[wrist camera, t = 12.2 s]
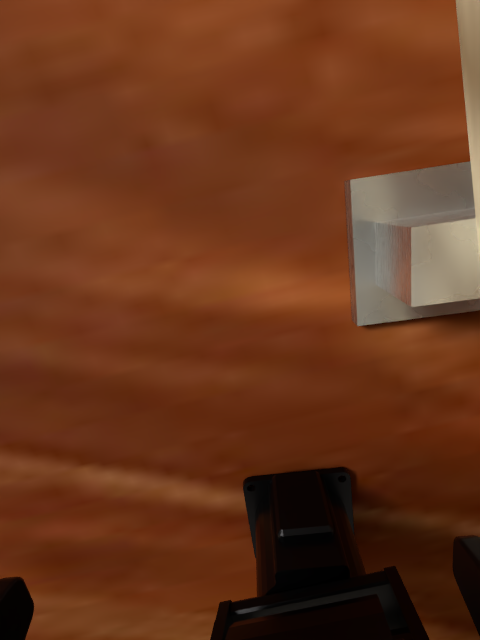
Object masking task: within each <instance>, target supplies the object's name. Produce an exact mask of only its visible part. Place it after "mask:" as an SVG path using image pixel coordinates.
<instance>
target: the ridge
mask: <svg viewBox="0 0 480 640" xmlns="http://www.w3.org/2000/svg"><path fill="white" fill-rule="evenodd" d="M345 198H346V216H347V235H348V253H349V272H350V290H351V309H352V320H353V322H354V323H355V324H356V325H357V326H362V325H370V324H377V323H385V322H393V321H401V320H409V319H416V318H424V317H432V316H440V315H448V314H455V313H463V312H471V311H479V310H480V259H479V248H478V237H477V226H476V215H475V205H474V194H473V183H472V172H471V161H470V162H464V163H457V164H451V165H444V166H438V167H431V168H425V169H418V170H412V171H405V172H399V173H392V174H386V175H379V176H373V177H366V178H360V179H353V180H348V181H345Z"/></svg>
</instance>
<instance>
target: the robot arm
mask: <svg viewBox="0 0 480 640" xmlns="http://www.w3.org/2000/svg"><path fill="white" fill-rule="evenodd" d="M339 476H343V477H341V478H339ZM249 485H254V486H253V487H250V486H249ZM243 491H244V496H245V502H246V508H247V514H248V519H249V525H250V531H251V536H252V542H253V548H254V554H255V558H256V570H257V597H254V598H249V599H244V600H240V601H235V602H232V601H231V600H228V601H224V602H220V604H219V608H218V612H217V616H216V620H215V622H214V627H213V631H212V635H211V639H210V640H429V638H428V635H427V633H426V631H425V629H424V627H423V625H422V623H421V620H420V618H419V616H418V614H417V612H416V610H415V608H414V605H413V603H412V601H411V599H410V597H409V595H408V593H407V590H406V588H405V586H404V584H403V582H402V580H401V577H400V575H399V573H398V571H397V569H396V567H395V566H392V567H387V568H384V571H380V572H375V573H370V574H366V572H365V569H364V566H363V563H362V559H361V556H360V553H359V550H358V547H357V544H356V541H355V538H354V524H353V509H352V493H351V478H350V475H349V472H348V470H347V469H345V468H331V469H321V470H311V471H302V472H292V473H283V474H273V475H263V476H254V477H248V478H246V479H245V480H244V482H243ZM453 572H454V576H455V579H456V582H457V584H458V587H459V589H460V591H461V594H462V596H463V598H464V601H465V603H466V605H467V608H468V610H469V612H470V615H471V617H472V619H473V622H474V624H475V626H476V629H477V631H478V633H479V636H480V537H478V536H474V535H470V536H459V537H456V538H455V539H454V546H453ZM33 612H34V603H33V600H32V598H31V595H30V593H29V591H28V589H27V586H26V584H25V582H24V580H23V579H22V578H21V577H9V578H3V579H0V640H25V638H26V635H27V632H28V629H29V626H30V623H31V620H32V616H33Z"/></svg>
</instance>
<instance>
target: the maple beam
mask: <svg viewBox="0 0 480 640" xmlns="http://www.w3.org/2000/svg"><path fill="white" fill-rule="evenodd" d="M456 8H457V19H458V30H459V41H460V52H461V63H462V74H463V85H464V96H465V107H466V117H467V128H468V139H469V150H470V161H471V172H472V183H473V194H474V205H475V215H476V226H477V237H478V248H479V259H480V0H456Z"/></svg>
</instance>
